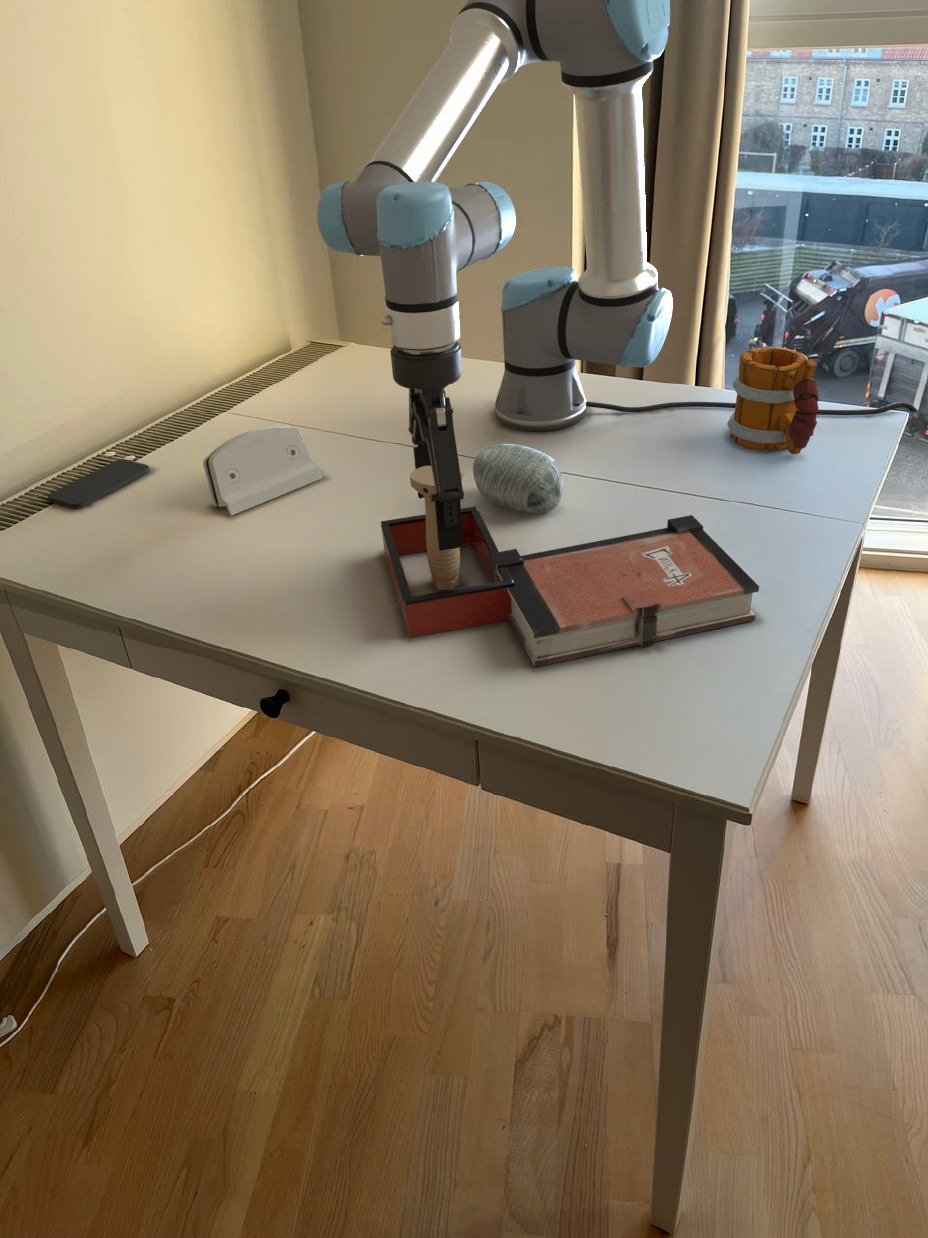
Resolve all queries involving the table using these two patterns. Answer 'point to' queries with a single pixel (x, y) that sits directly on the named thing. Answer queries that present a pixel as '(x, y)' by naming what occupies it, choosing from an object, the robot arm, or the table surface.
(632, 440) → the table surface
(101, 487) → the phone
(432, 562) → the handle
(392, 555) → the red black rectangular frame
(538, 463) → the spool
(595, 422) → the table surface
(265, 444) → the white piece
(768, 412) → the mug
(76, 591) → the table surface
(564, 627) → the book
